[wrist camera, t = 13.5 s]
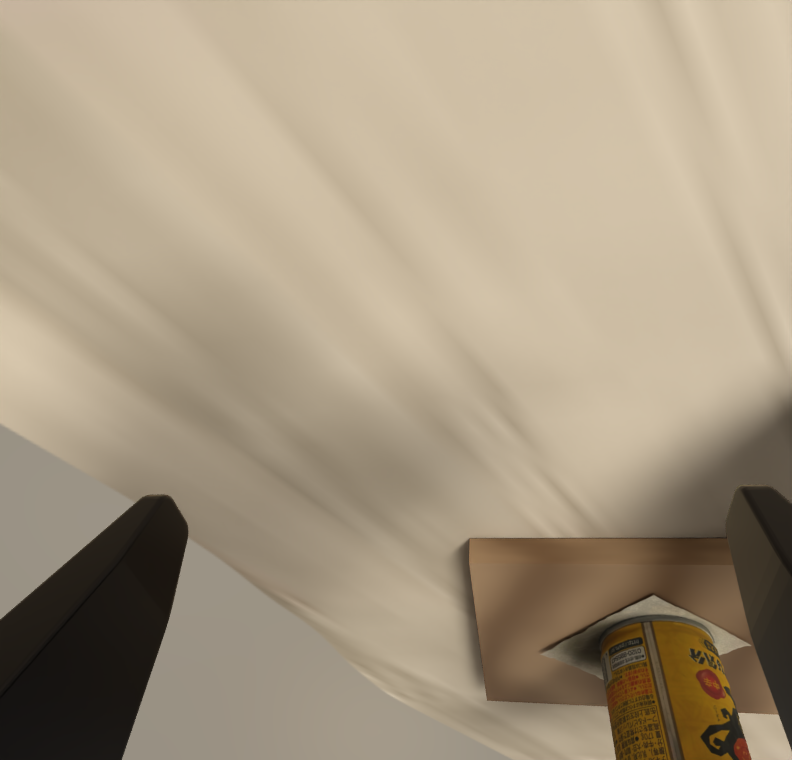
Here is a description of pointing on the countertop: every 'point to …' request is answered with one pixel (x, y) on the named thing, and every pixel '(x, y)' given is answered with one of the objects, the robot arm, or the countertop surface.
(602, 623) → the condiment
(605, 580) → the walnut board
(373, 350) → the countertop surface
